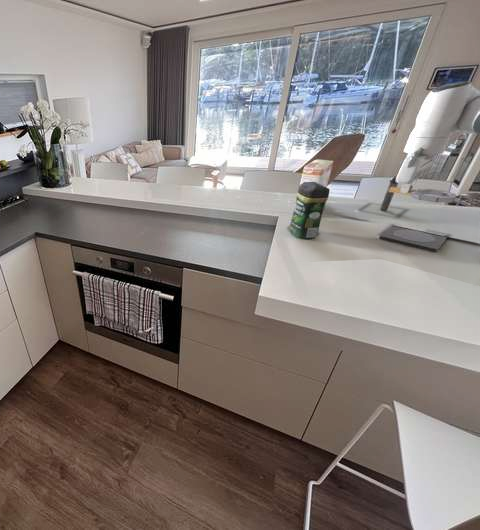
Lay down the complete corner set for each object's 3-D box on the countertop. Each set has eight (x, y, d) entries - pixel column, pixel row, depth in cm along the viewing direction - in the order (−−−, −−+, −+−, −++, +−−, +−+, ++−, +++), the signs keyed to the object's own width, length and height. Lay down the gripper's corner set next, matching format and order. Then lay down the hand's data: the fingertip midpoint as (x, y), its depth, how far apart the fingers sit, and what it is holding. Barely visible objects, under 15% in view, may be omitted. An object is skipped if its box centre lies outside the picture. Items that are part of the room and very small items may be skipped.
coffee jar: (284, 229, 110) (295, 180, 100) (306, 228, 109) (319, 179, 99) (296, 240, 101) (310, 188, 92) (320, 239, 100) (336, 186, 91)
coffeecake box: (304, 203, 131) (315, 159, 121) (322, 206, 127) (335, 160, 117) (292, 213, 123) (303, 166, 113) (311, 216, 118) (324, 167, 108)
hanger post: (406, 212, 114) (422, 175, 107) (396, 220, 108) (412, 182, 101) (369, 205, 123) (382, 171, 115) (358, 213, 117) (371, 177, 110)
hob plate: (447, 238, 94) (448, 235, 94) (435, 252, 87) (437, 249, 87) (393, 226, 104) (394, 224, 104) (379, 238, 98) (380, 235, 97)
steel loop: (457, 196, 88) (459, 192, 87) (449, 204, 83) (451, 199, 82) (393, 188, 99) (395, 184, 98) (384, 194, 94) (385, 190, 93)
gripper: (429, 152, 79) (408, 201, 86) (448, 142, 89) (427, 186, 96) (400, 150, 83) (382, 197, 90) (421, 140, 93) (403, 183, 100)
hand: (405, 191), depth 93 cm, fingers closed on steel loop, 1 cm apart
